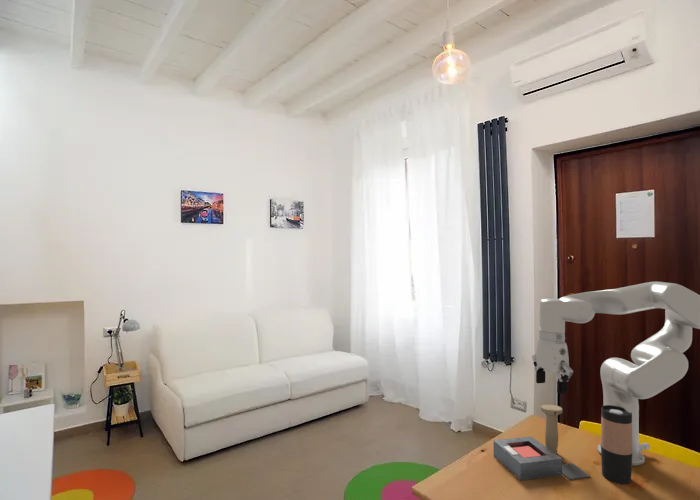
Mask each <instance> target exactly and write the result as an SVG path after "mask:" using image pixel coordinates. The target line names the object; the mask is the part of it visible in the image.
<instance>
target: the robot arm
mask: <svg viewBox="0 0 700 500" xmlns="http://www.w3.org/2000/svg"><path fill="white" fill-rule="evenodd" d="M653 309H663V310H665V311H664V312H665V313H664V315H665V316H664V317H665V318H664V325H663V327H662V328H661V329H660V330H659V331H658V332H656V333H655V334H653V335H651V336H650V337H648V338H647V339H645V340H644V341H641V342H640V343H639V344H637V345H636V346H635V347H633V348H632V350H631V353H630V358H631V361H632V362H631V361H629V360H626V359H625V358H620V357H609V358H607V359H605V360H604V361H603V362H602V363H601V366H600V373H599V374H600V380H601V384H602V393H603V394H602V395H603V401H602V402H603V405H602V406H605V405H612V406H618V407H622V408H624V409H626V411H627V412H629V413H632V467H634V466H641V465H644V463H645V461H646V460H645V456H644V455H643V454H642V452H643V450H644V451H646V450H650V449H651V446H650V443H648V442H641V443H640V437H639V436H640V435H639V434H640V431H639V426H640V425H639V422H640V421H639V419H640V418H639V417H640V413H639V412H640V404H639V400H646V399H650V398H652V397H654V396H656V395H658V394H660V393H662V392H663V391H664V390H666V389H668V388H669V387H671V386H673V385H674V384H676V383H677V382H679V381H680V380H682V379H683V378H684V377H685V376H686V374H687V372H688V370H689V360H688V358H687V357H686V355H685V354H684V353H685V352H686V351H687V350H688V349H689V348H690V347H691V346H692V341H693V328H694V329H698V330H700V294H698V293H697V292H695V291H693V290H691V289H689V288H687V287H685V286H684V285H681V284H679V283H673V282H664V281H649V282H643V283H638V284H633V285H627V286H624V287H618V288H611V289H603V290H602V289H601V290H594V291H584V292H580V293H578V292H577V293H575V294H574V293H573V294H569V295H564V296H562V297H560V298H553V297H552V298H551V297H550V298H547V297H546V298H542V299H541V300H540V301H539V313H538V314H539V316H538V317H539V323H538V325H539V327H538V328H539V329H538V331H539V332H538V339H537V344H536V345H537V346H536V354H533V355H532V356H531V358H532V362H533V363H532V364H533V366H534V370H535V372H536V373H535V374H536V375H535V382H536V384H544V383H545V384H546V371H547V372H550V373H553V374H555V375H556V377H557V379H558V380H557V381H556V383H557V384H556V393H557V394H559V395H562V394H563V395H564V394H568V382H569V381H570V380H571V379H572V376H573V374H574V370H573V369H572V368H571V367H570V362H569V361H570V360H569V358H570V357H569V349H568V345H567V342H565V340H566V337H565V334H566V322H571V323H575V324H586V323H588V322H590V321H592V320H593V318H594V317H595V315H596V314H608V315H627V314H633V313H638V312H643V311H648V310H653ZM597 452H598V453H599V454H600V455H601V443H599V444H598V445H597Z"/></svg>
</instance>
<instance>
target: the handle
mask: <svg viewBox="0 0 700 500" xmlns="http://www.w3.org/2000/svg"><path fill="white" fill-rule="evenodd" d="M540 411H541V412H543V413H544V415H545V426H544V444H545V445H544V446H546V447H547V448H548V449H550V450H551V451H552V452H554V453H555V454H557V455H558V448H559V447H558V446H559V428H558V416H559V415H561V414H563V408H562V406H559V405H556V404H555V405H554V404H541V405H540Z"/></svg>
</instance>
